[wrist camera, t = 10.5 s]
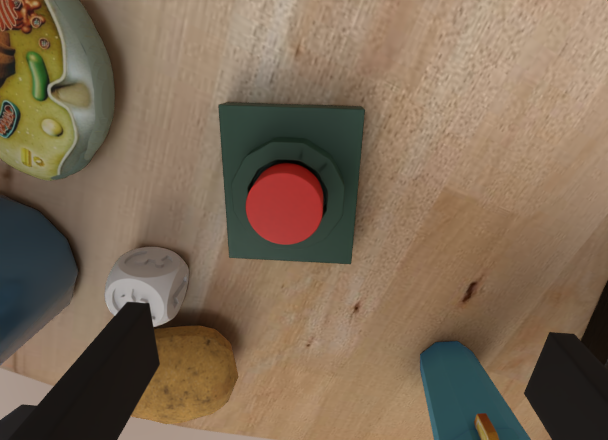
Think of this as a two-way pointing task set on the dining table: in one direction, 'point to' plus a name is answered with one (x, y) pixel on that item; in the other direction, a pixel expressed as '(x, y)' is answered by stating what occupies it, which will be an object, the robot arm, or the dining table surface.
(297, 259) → the button box
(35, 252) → the wine bottle
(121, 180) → the dining table surface
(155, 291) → the die
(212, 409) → the potato
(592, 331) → the panel
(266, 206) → the button
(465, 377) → the cup
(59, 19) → the cell model
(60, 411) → the robot arm
